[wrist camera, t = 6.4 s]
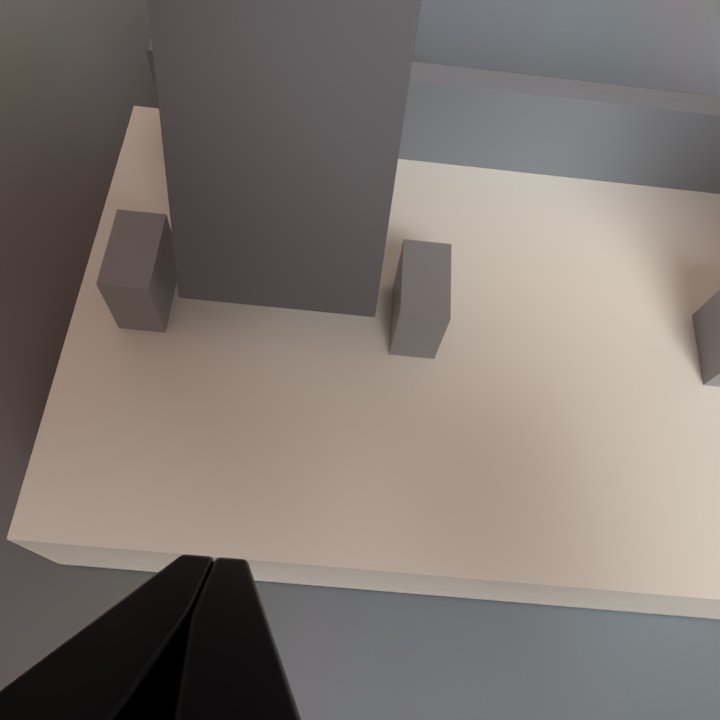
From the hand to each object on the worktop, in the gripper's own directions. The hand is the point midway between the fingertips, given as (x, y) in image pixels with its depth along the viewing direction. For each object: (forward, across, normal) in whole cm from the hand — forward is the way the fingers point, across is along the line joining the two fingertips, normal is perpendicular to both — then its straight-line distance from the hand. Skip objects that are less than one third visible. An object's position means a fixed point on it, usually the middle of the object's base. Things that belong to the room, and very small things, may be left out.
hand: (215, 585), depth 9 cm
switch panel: (+10, -6, 0) cm, 12 cm away
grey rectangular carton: (+7, 0, -2) cm, 7 cm away
